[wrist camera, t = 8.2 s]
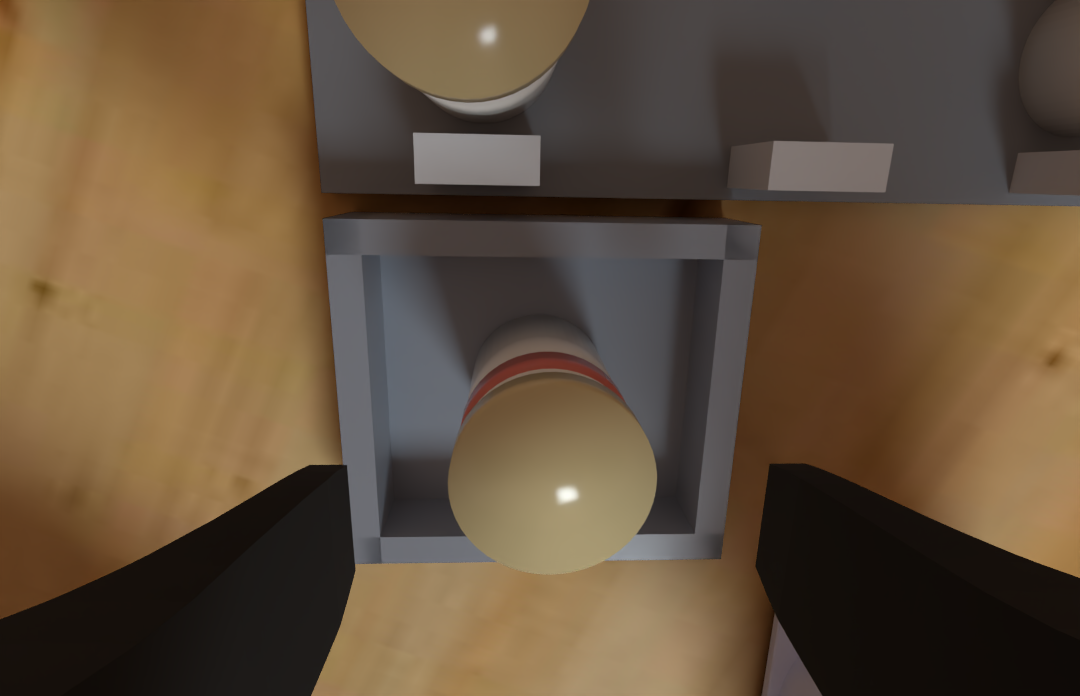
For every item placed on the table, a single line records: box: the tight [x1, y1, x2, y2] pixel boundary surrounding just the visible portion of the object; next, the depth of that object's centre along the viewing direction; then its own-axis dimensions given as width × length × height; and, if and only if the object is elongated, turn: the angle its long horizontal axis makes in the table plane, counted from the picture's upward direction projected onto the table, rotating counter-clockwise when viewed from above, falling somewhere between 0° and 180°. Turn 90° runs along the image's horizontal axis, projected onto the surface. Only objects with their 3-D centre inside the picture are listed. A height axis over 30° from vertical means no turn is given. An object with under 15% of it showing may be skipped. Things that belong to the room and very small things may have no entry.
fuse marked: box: [448, 315, 657, 575], centre depth 14 cm, size 4×4×6 cm
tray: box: [323, 212, 762, 564], centre depth 16 cm, size 9×10×2 cm
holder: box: [306, 0, 1080, 206], centre depth 13 cm, size 7×23×3 cm, turn 89°
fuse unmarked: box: [334, 0, 589, 124], centre depth 11 cm, size 4×4×6 cm
